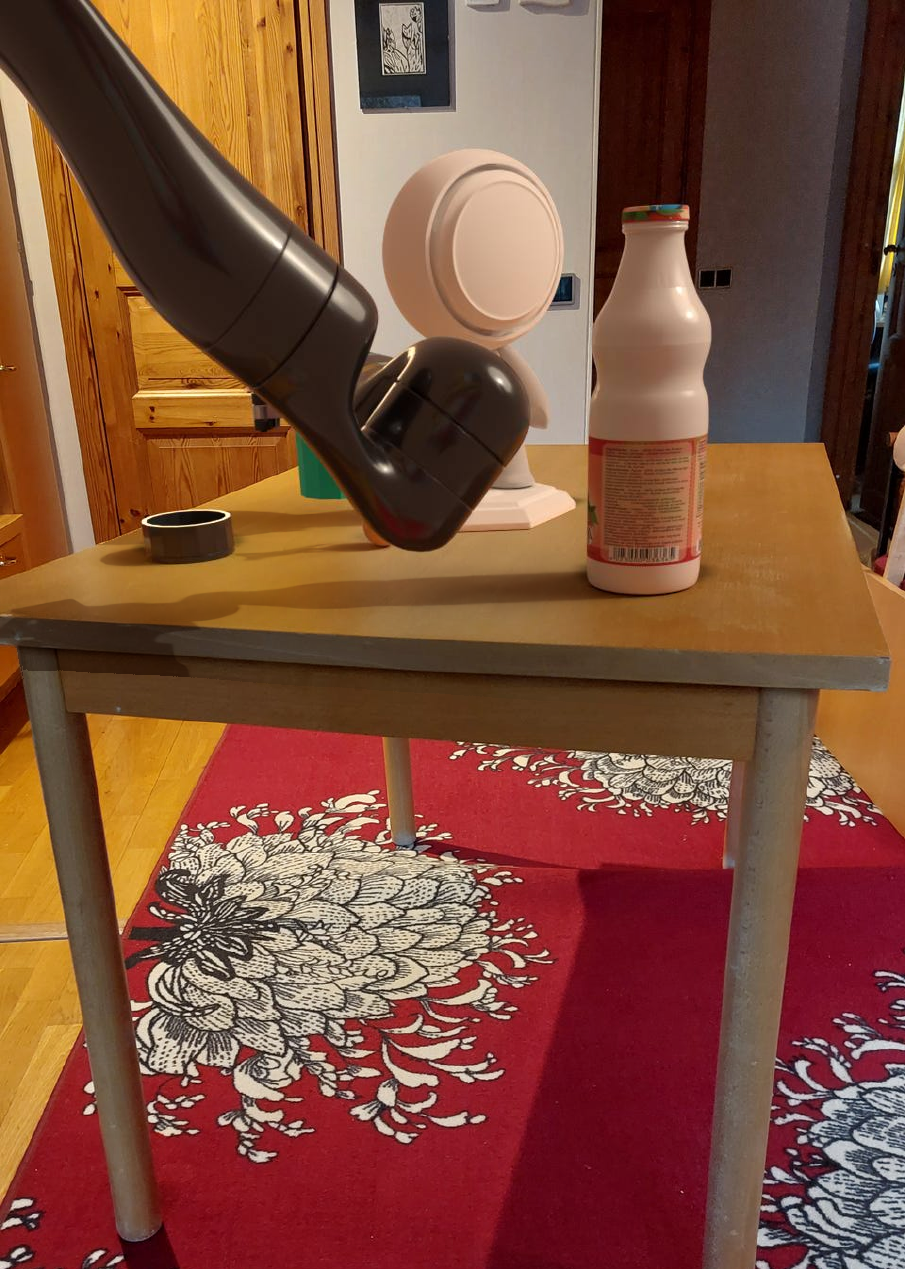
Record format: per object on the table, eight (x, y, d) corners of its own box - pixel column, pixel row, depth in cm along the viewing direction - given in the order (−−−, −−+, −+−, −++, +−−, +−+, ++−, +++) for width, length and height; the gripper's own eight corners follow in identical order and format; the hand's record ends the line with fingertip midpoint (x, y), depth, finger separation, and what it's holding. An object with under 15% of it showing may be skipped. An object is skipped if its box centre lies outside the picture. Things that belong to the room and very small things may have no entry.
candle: (286, 498, 85) (270, 328, 80) (323, 485, 90) (310, 325, 85) (356, 500, 83) (344, 327, 78) (390, 487, 88) (381, 323, 83)
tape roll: (167, 568, 105) (161, 531, 103) (134, 553, 111) (128, 518, 109) (249, 553, 109) (245, 517, 107) (213, 540, 115) (208, 506, 114)
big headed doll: (447, 542, 110) (431, 134, 95) (348, 509, 128) (321, 162, 113) (607, 516, 119) (616, 139, 104) (493, 488, 137) (486, 163, 122)
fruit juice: (640, 603, 87) (655, 201, 75) (563, 581, 94) (565, 211, 82) (722, 582, 92) (749, 201, 80) (643, 563, 99) (656, 210, 87)
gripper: (265, 484, 71) (239, 451, 86) (478, 468, 74) (417, 439, 89) (252, 359, 68) (227, 347, 82) (475, 347, 71) (413, 338, 86)
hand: (326, 395), depth 86 cm, fingers closed on candle, 5 cm apart
